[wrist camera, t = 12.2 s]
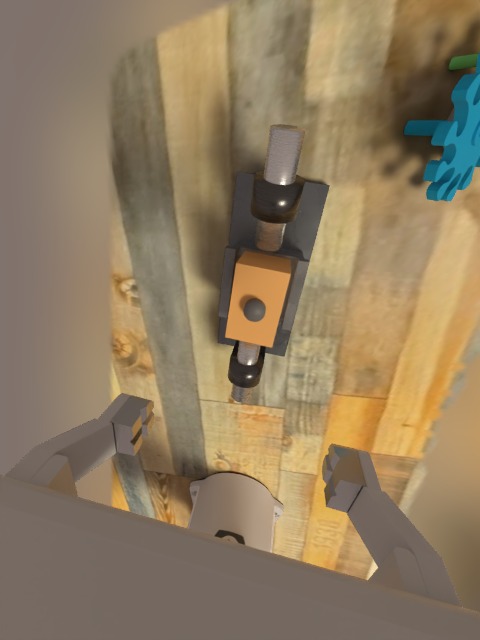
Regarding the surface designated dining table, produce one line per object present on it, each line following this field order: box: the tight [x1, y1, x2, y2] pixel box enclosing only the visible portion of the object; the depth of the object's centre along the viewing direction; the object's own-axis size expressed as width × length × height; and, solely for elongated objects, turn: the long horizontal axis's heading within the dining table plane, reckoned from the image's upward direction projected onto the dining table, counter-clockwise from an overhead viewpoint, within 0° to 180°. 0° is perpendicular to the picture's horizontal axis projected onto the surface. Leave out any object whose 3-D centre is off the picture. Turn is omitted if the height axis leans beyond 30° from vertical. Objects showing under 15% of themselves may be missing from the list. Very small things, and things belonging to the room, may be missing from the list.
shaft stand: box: [218, 124, 330, 402], centre depth 25 cm, size 25×9×11 cm, turn 172°
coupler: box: [225, 251, 291, 348], centre depth 24 cm, size 7×4×6 cm, turn 171°
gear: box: [404, 52, 480, 201], centre depth 20 cm, size 11×6×10 cm
